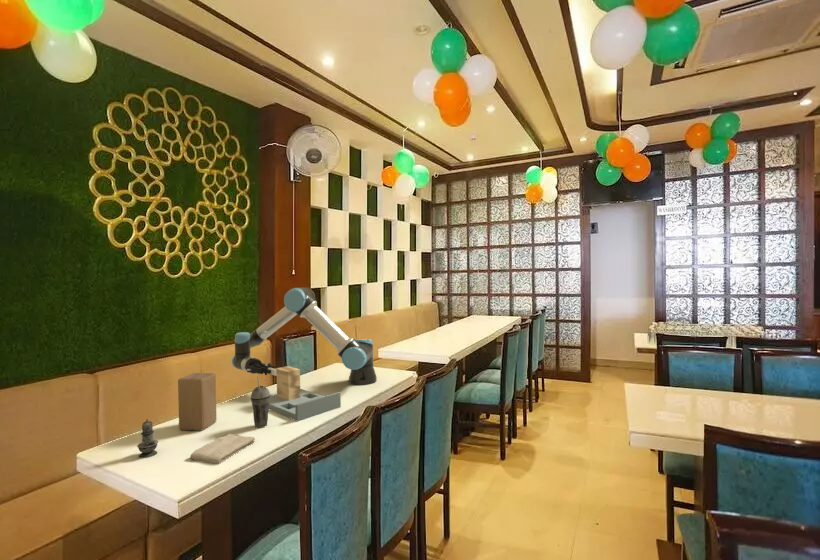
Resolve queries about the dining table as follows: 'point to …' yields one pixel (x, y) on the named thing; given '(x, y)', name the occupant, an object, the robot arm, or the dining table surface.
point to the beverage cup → (260, 405)
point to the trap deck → (305, 404)
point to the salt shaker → (147, 441)
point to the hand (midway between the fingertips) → (276, 372)
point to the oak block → (288, 383)
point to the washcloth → (222, 448)
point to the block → (197, 401)
